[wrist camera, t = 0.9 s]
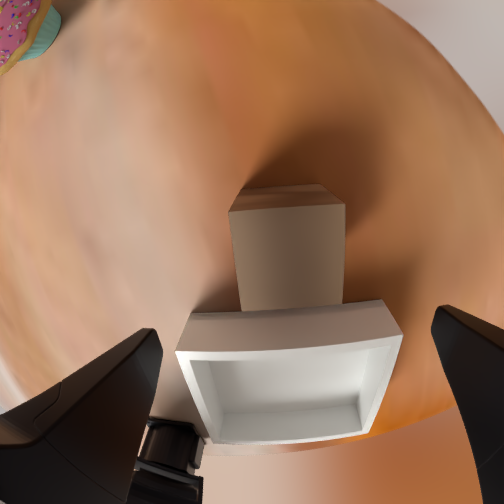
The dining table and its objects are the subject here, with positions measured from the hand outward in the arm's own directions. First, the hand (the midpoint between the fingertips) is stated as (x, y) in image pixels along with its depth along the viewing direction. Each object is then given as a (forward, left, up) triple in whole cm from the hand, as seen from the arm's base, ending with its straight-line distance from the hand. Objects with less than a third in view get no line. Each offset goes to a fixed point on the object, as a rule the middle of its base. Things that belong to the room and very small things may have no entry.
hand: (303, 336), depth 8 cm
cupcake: (-18, +20, -11) cm, 30 cm away
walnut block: (0, 0, -11) cm, 11 cm away
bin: (0, -13, -11) cm, 17 cm away
